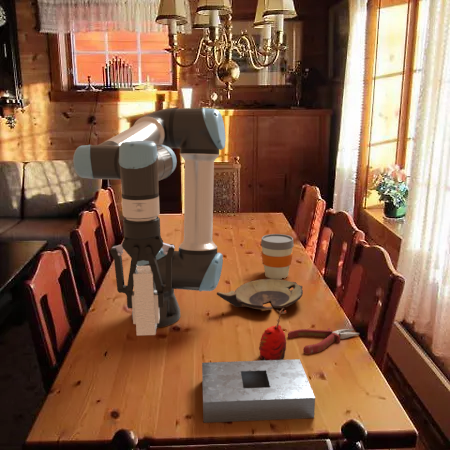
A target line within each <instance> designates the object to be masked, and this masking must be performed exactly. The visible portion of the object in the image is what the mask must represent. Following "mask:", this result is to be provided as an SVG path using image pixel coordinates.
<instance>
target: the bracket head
mask: <svg viewBox="0 0 450 450" xmlns="http://www.w3.org/2000/svg"><path fill="white" fill-rule="evenodd" d="M201 369H202V371H201V373H202V374H201V375H202V376H201V377H202V378H201V379H202V410H203V411H202V414H203V419H202V420H203V424H204V423H222V422H223V423H225V422H226V423H227V422H249V421H250V422H251V421H252V422H253V421H272V420H273V421H275V420H277V421H278V420H297V419H298V420H299V419H315V411H316V410H315V409H316V396H315V393H314V392H313V388H312V387H311V384H310V381H309V379H308V377H307V374H306V371H305V369H304V366H303V364H302V362H301V359H300V358H299V359H283V360H265V359H264V360H243V361H241V360H240V361H239V360H238V361H217V362H216V361H215V362H214V361H212V362H211V361H210V362H201Z"/></svg>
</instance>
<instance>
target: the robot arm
mask: <svg viewBox="0 0 450 450" xmlns="http://www.w3.org/2000/svg"><path fill="white" fill-rule="evenodd" d="M225 147H226V129H225V124H224V119H223V116H222V114H221V112H220V111H219V110H218V109H216V108H208V107H207V108H206V107H196V108H195V107H188V108H183V107H181V108H179V107H178V108H173V107H172V108H164V109H160V110H156V111H153V112H150V113H148V114H146V115H143V116H142V117H140V118H138V119H137V120H136V121H135V122H134V124H133V125H132V126H131V127H129V128H127V129H125V130H123V131H122V132H120V133H118V134H116V135H114V136H111V138H108V139H106V140H104V142H102V143H99V144H97V145H96V144H95V145H94V144H93V145H92V144H88V145H85V144H83V145H79V146H77V148H76V149H75V151H74V154H73V160H72V162H73V168H74V171H75V174H76V175H77V176H78V177H79V178H81V179H91V180H120V186H121V208H122V211H121V212H122V216H123V217H124V219H123V220H122V225H123V240H122V243H121V244H118V245H113V246H112V247H111V248H110V250H109V251H110V255H111V256H112V258H113V260H114V261H113V262H114V271H115V280H116V281H115V282H116V288H117V289H116V290H117V292H118V293H121V294H122V293H123V294H124V295H126V306H127V308H128V309H131V311H132V312H131V320H132V324H133V325H136V315H135V298H134V280H133V273H134V272H135V271H136V268H137V266H150V267H151V271H153V278H154V282H155V288H156V290H155V294H154V303H155V323H157V328H163V327H168V326H171V325H173V324H175V323H177V322H178V321H179V320H180V318H181V308H180V305H179V302H178V300H177V297H176V295H175V290H182V291H183V290H184V291H185V290H186V291H197V292H198V291H199V292H212V291H214V290H216V288H217V287H218V284H219V282H220V279H221V275H222V269H223V262H224V261H223V260H224V259H223V258H224V256H223V254H222V253H221V252H218V246H217V244H215V242H214V241H213V231H214V230H213V229H214V227H213V226H214V225H213V223H214V220H213V219H214V213H213V212H214V180H215V179H214V177H215V176H214V175H215V172H214V171H215V167H214V166H215V161H216V159H217V158H219V157H220V150H224V149H225ZM173 149H179V155H180V157H181V158H182V159H183V160H184V199H183V204H184V205H183V207H184V210H183V211H184V213H183V217H184V219H183V241H182V242H181V243H180V244H179V246H178V250H175V248H176V247H175V245H174V243H171V244H170V243H165V242H164V240H163V238H162V236H161V219H160V217H159V215H160V211H161V210H160V195H159V193H160V192H159V191H160V190H159V188H160V187H159V181H161V180H164V179H167V178H168V177H170V176H171V174H172V173H174V171H175V170H176V168H177V164H178V163H177V162H178V161H177V156H176V154H175V151H173ZM124 251H125V252H126V254H128V256H129V257H130V265H129V266H130V267H129V272H128V277H127V278H128V279H127V284H125V277H124V276H125V275H124V267H123V266H124V265H123V257H122V255H123V253H124Z"/></svg>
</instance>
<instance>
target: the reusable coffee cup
mask: <svg viewBox="0 0 450 450" xmlns="http://www.w3.org/2000/svg"><path fill="white" fill-rule="evenodd" d="M260 242H261V243H260V246H261V249H262V250H261V260H262V265H263V268H264V269H263V270H264V275H265V277H266V278H267V279H280V280H283V279H282V278H284V279H286V277H287V276H288V277H289V274H290V272H289V271H290V266H291V265H292V260H293V254H294V253H293V248H294V246H295V245H294V237H292V236H291V235H288V234H283V233H282V234H281V233H270V234H265V235H263V236H262V237H261V240H260ZM288 277H287V278H288Z"/></svg>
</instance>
